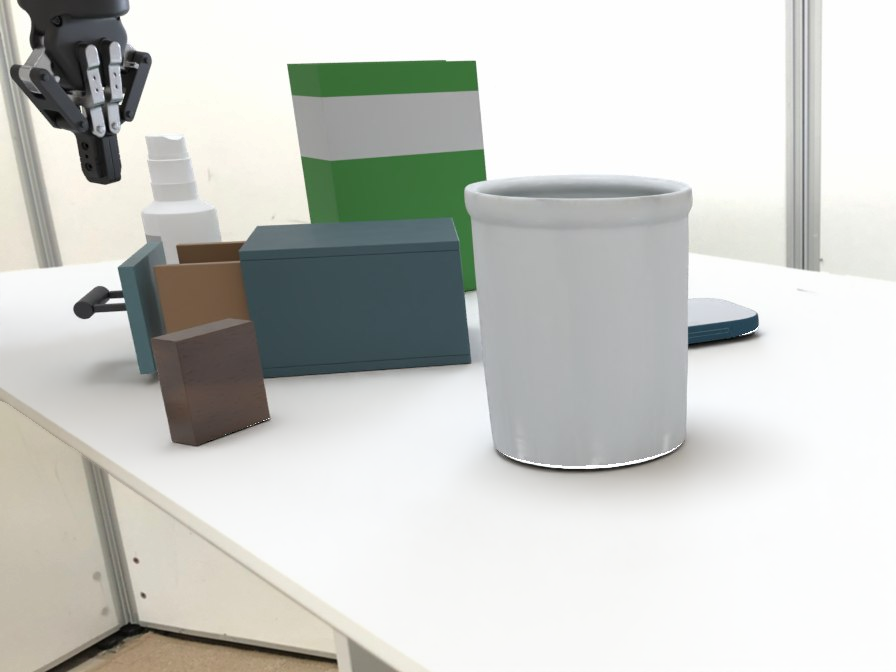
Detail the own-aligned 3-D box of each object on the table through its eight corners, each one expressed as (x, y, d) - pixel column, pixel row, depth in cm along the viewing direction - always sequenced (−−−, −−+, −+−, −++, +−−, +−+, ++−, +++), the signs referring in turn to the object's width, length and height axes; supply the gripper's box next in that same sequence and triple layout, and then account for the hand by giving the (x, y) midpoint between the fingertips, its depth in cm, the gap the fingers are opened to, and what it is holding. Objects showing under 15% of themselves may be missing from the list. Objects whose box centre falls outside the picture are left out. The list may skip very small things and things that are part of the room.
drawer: (77, 378, 98) (52, 270, 95) (112, 341, 110) (90, 244, 107) (347, 360, 103) (332, 256, 100) (352, 326, 115) (339, 233, 111)
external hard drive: (713, 314, 123) (712, 295, 122) (771, 336, 113) (771, 315, 113) (492, 343, 112) (490, 322, 111) (537, 370, 103) (535, 347, 102)
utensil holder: (648, 400, 94) (639, 167, 87) (733, 453, 82) (730, 188, 75) (463, 427, 88) (438, 179, 81) (526, 489, 76) (502, 204, 69)
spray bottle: (206, 311, 126) (172, 131, 119) (250, 318, 123) (218, 133, 116) (148, 324, 121) (109, 136, 113) (193, 331, 117) (155, 138, 110)
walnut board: (171, 441, 85) (149, 338, 82) (246, 415, 91) (228, 317, 88) (196, 446, 84) (175, 341, 82) (271, 419, 90) (253, 320, 87)
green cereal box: (463, 277, 142) (441, 60, 133) (496, 286, 137) (475, 60, 128) (322, 298, 132) (286, 63, 122) (351, 308, 127) (317, 64, 117)
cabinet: (260, 378, 101) (238, 251, 97) (275, 339, 114) (256, 225, 110) (471, 363, 105) (459, 240, 101) (463, 327, 118) (451, 217, 114)
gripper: (84, -66, 94) (120, 160, 103) (-53, -62, 83) (0, 191, 92) (168, -54, 93) (197, 173, 101) (41, -49, 82) (85, 206, 90)
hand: (103, 181), depth 96 cm, fingers closed
